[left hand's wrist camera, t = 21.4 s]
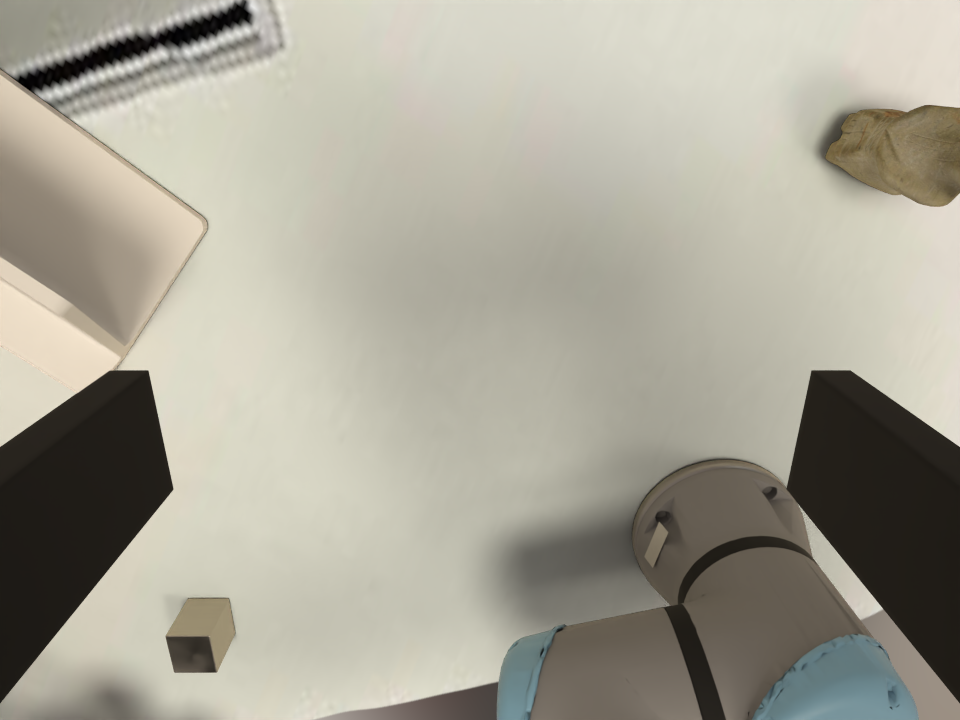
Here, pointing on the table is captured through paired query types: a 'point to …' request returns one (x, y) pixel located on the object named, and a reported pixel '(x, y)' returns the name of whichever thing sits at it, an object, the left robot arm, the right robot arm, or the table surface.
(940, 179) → the sculpture
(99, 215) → the tablet stand
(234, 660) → the table surface
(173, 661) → the block
